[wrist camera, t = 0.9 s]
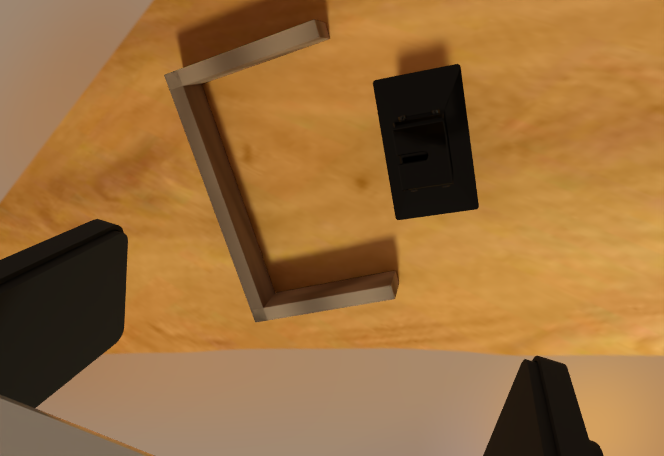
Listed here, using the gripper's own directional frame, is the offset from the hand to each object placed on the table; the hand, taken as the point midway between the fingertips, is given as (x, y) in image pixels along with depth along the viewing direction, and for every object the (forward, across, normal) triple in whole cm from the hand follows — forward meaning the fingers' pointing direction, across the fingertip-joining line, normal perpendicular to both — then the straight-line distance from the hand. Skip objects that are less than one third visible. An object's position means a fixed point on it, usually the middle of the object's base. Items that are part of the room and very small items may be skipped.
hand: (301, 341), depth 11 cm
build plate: (+24, -1, -1) cm, 24 cm away
